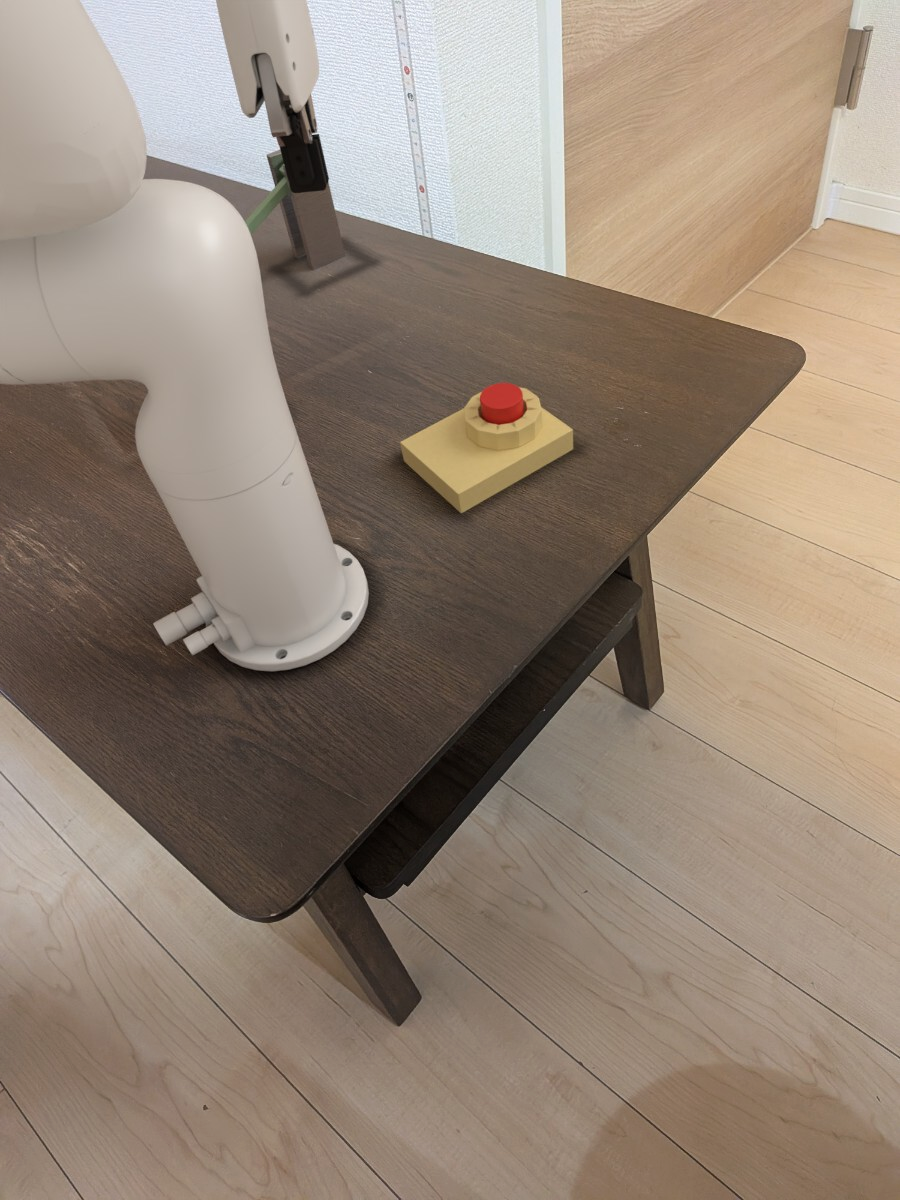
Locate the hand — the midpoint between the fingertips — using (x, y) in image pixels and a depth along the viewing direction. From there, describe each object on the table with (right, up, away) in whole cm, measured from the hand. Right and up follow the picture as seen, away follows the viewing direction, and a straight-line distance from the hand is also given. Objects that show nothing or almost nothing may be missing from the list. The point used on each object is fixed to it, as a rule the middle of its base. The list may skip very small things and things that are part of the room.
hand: (310, 187), depth 73 cm
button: (+17, -20, -2) cm, 27 cm away
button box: (+16, -24, 0) cm, 28 cm away
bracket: (-3, +4, +26) cm, 27 cm away
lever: (-7, +6, +19) cm, 22 cm away
